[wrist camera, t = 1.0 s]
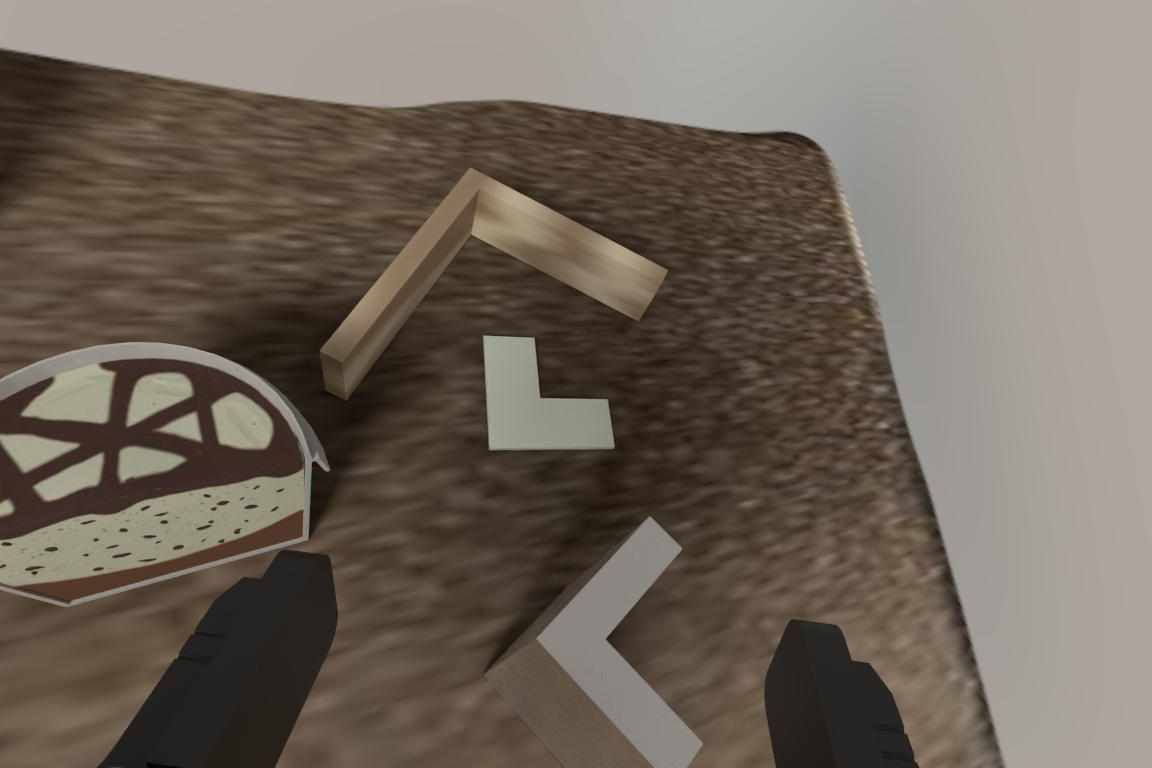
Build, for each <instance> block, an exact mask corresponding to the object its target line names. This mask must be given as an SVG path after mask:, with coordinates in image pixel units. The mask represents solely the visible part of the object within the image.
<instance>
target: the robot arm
mask: <svg viewBox="0 0 1152 768" xmlns="http://www.w3.org/2000/svg"><path fill="white" fill-rule="evenodd" d="M337 618H338V610H337V603H336V596H335V588H334V581H333V574H332V567H331V561H330V558H329V556H328V555H323V554H316V553H308V552H301V551H294V550H282V551H281V552H279V553H278V554H277V555H276V557H275V558H274V560H273V561H272V563H271V564H270V566H269V568H268V569H267V571H266V572H265V574H264V575H263V577H262V579H255V578H248V577H244V578H242V579H241V580H240V581H238V582H237V583H236V584H235V585H233V586H232V587H231V588H230V589H228V590H227V591H226V592H225V593H223V594H222V595H221V596H220V597H218V598H217V599H216V600H215V601H214V602H213V604H212V605H211V607H210V608H209V610H208V611H207V613H206V614H205V615H204V617H203V618H202V620H201V621H200V623H199V624H198V626H197V627H196V629H195V633H194V635H191V636H190V637H189V639H188V640H187V642H186V643H185V645H184V646H183V648H182V649H181V650H180V652H179V656H178V658H177V659H174V661H173V662H172V664H171V665H170V666H169V668H168V669H167V671H166V672H165V674H164V675H163V677H162V678H161V680H160V681H159V682H158V684H157V685H156V687H155V688H154V690H153V691H152V693H151V694H150V696H149V697H148V698H147V700H146V701H145V703H144V704H143V706H142V707H141V709H140V710H139V712H138V713H137V714H136V716H135V717H134V719H133V720H132V722H131V723H130V725H129V726H128V728H127V729H126V730H125V732H124V733H123V735H122V736H121V738H120V739H119V741H118V742H117V744H116V745H115V747H114V748H113V749H112V751H111V752H110V753H109V755H108V756H107V757H106V758H105V760H104V761H103V762H102V763H101V764H100V765H99V766H98V767H97V768H275V766H276V764H277V762H278V759H279V757H280V755H281V753H282V751H283V749H284V746H285V744H286V742H287V740H288V738H289V736H290V734H291V731H292V729H293V727H294V725H295V723H296V721H297V718H298V716H299V714H300V712H301V710H302V708H303V705H304V703H305V701H306V699H307V697H308V695H309V692H310V690H311V688H312V686H313V684H314V682H315V679H316V677H317V675H318V673H319V671H320V669H321V666H322V664H323V662H324V660H325V658H326V656H327V654H328V651H329V649H330V647H331V644H332V641H333V638H334V635H335V631H336V626H337ZM764 696H765V709H766V715H767V720H768V726H769V731H770V737H771V742H772V748H773V754H774V759H775V765H776V768H919V766H918V764H917V763H916V762H915V761H914V756H915V755H914V753H913V750H912V747H911V744H910V742H909V739H908V736H907V734H905V733H904V725H903V722H902V720H901V717H900V714H899V711H898V709H897V706H896V703H895V700H894V698H893V695H892V693H891V692H890V690H889V689H888V688H887V686H886V685H885V684H884V682H883V681H882V680H881V678H880V677H879V676H878V674H877V673H876V672H875V670H874V669H873V668H872V666H871V665H870V664H869V663H865V662H857V661H852V660H851V657H850V653H849V650H848V647H847V644H846V641H845V638H844V635H843V633H842V631H841V629H840V628H839V627H838V626H837V625H832V624H825V623H817V622H810V621H802V620H795V619H792V620H790V621H789V623H788V625H787V627H786V629H785V631H784V634H783V636H782V638H781V641H780V643H779V645H778V648H777V650H776V652H775V655H774V657H773V659H772V662H771V664H770V666H769V669H768V671H767V675H766V680H765V695H764Z"/></svg>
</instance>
